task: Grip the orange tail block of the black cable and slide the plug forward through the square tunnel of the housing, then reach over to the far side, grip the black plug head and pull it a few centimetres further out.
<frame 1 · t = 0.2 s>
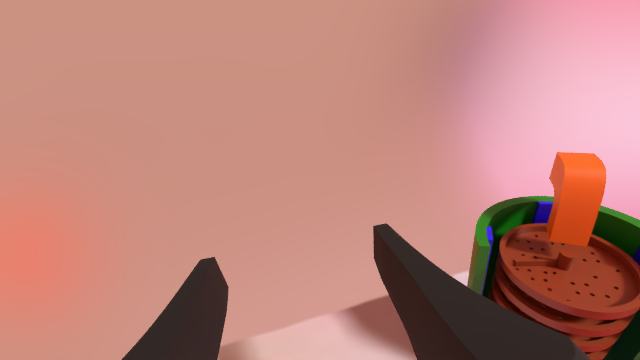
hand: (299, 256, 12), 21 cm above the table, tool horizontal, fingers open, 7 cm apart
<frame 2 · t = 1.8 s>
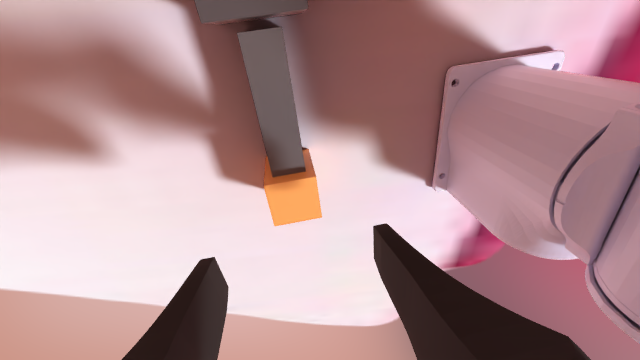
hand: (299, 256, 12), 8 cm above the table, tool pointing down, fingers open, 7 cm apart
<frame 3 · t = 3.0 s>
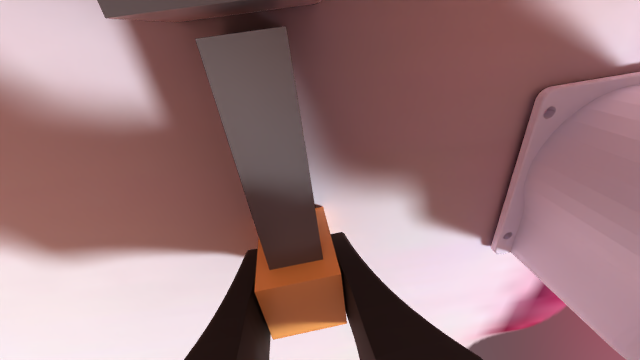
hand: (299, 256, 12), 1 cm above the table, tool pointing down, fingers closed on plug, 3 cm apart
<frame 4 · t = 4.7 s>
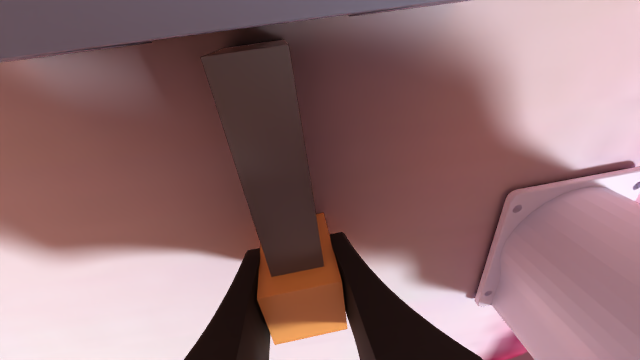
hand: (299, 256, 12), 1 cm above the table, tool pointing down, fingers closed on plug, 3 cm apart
when the fingers open (1 cm above the table, at t = 6.3 s): plug stays where it is, on the table.
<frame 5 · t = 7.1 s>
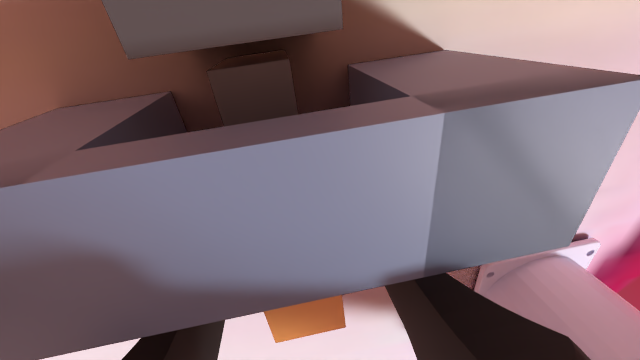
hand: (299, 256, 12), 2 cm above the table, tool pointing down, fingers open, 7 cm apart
housing: (273, 130, 10), on the table
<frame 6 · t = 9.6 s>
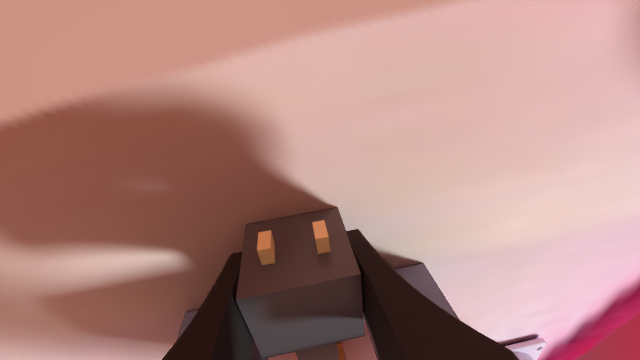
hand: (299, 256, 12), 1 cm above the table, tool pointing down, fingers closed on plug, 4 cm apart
plug: (299, 246, 14), on the table, touching gripper
housing: (312, 307, 16), on the table
when the fingers open (1 cm above the table, at t = 11.2 s): plug stays where it is, on the table.
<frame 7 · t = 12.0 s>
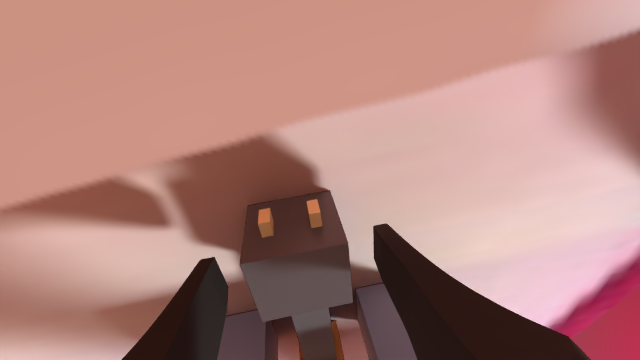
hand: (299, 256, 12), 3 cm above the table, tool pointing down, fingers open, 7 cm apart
plug: (295, 226, 15), on the table
housing: (315, 314, 19), on the table
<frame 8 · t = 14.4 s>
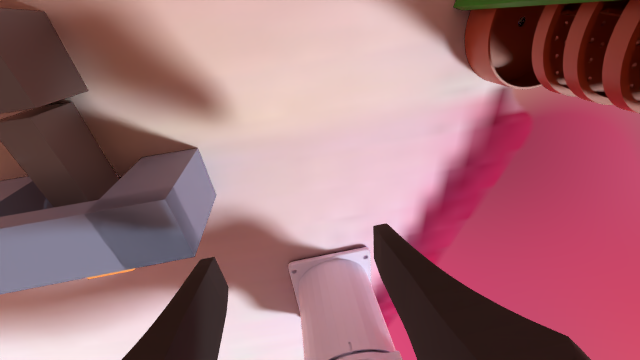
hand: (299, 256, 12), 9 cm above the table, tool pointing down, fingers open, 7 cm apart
plug: (26, 59, 14), on the table
housing: (109, 189, 19), on the table
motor: (523, 11, 17), on the table
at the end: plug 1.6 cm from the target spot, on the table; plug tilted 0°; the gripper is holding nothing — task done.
